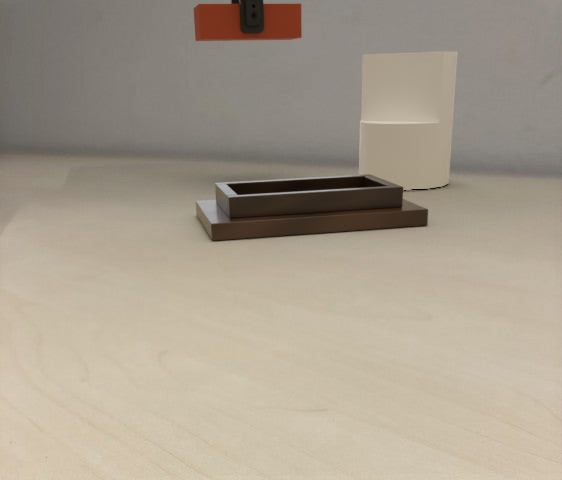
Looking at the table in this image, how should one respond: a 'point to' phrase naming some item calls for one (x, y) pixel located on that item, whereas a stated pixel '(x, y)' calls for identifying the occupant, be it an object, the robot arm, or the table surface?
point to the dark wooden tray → (306, 207)
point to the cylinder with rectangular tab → (407, 117)
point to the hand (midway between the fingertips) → (247, 33)
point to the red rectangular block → (226, 22)
